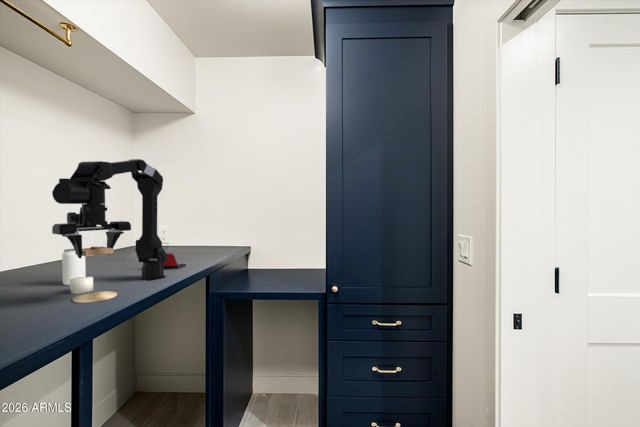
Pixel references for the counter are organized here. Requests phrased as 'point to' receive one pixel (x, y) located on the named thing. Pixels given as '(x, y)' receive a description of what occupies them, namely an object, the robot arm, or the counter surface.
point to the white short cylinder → (81, 285)
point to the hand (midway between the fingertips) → (94, 256)
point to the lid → (96, 251)
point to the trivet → (94, 297)
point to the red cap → (172, 263)
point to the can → (72, 266)
